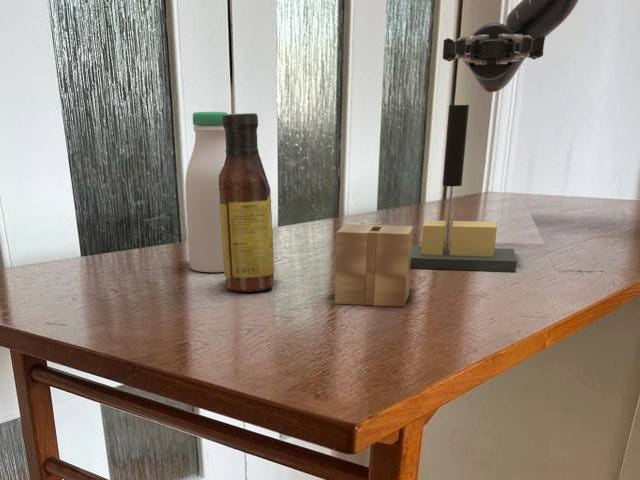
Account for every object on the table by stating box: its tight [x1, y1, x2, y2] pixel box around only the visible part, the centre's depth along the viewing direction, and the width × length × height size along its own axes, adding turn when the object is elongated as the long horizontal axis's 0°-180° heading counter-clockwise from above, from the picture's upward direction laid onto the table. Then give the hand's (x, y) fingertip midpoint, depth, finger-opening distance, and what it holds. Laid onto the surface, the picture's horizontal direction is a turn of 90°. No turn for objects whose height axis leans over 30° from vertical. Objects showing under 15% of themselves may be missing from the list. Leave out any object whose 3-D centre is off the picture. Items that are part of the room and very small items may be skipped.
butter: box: [411, 220, 517, 273], centre depth 107 cm, size 16×10×6 cm, turn 77°
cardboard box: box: [334, 224, 414, 308], centre depth 87 cm, size 8×6×8 cm
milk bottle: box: [184, 111, 228, 273], centre depth 102 cm, size 8×8×20 cm
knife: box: [442, 104, 470, 254], centre depth 104 cm, size 3×3×19 cm
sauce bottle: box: [219, 112, 275, 293], centre depth 90 cm, size 7×6×20 cm
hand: (493, 45), depth 105 cm, fingers open, 8 cm apart
